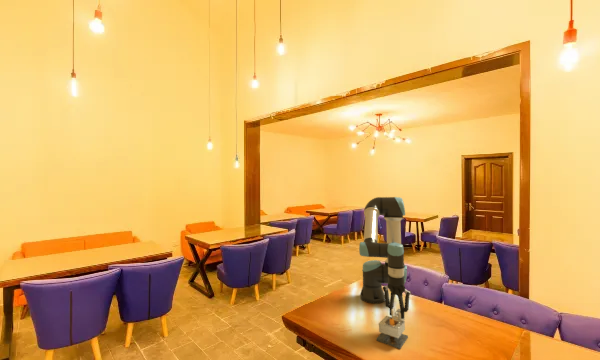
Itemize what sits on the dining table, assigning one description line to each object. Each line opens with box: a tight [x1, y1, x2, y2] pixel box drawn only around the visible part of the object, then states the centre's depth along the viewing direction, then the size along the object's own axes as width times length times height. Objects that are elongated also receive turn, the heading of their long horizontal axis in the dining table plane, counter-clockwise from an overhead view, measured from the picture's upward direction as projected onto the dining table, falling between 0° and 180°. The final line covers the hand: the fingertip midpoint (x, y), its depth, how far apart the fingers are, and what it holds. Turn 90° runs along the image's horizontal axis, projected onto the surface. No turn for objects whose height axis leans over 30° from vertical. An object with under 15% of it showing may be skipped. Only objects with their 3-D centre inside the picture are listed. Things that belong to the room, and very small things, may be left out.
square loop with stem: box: [378, 308, 406, 338], centre depth 131 cm, size 18×9×5 cm, turn 141°
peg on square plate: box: [375, 318, 409, 350], centre depth 128 cm, size 11×11×10 cm
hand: (397, 323), depth 133 cm, fingers closed on square loop with stem, 3 cm apart
